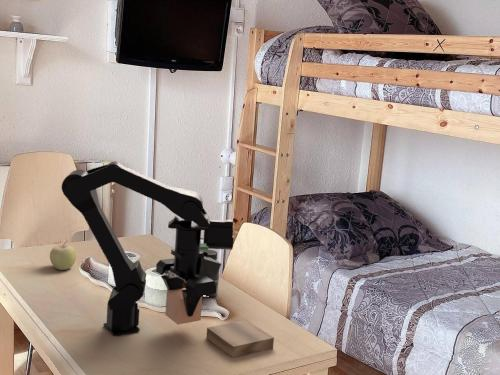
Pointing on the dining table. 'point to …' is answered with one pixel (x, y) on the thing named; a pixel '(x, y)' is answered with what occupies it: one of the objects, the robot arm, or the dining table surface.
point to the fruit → (63, 257)
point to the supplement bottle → (212, 255)
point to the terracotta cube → (180, 308)
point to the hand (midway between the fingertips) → (183, 311)
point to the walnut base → (239, 338)
